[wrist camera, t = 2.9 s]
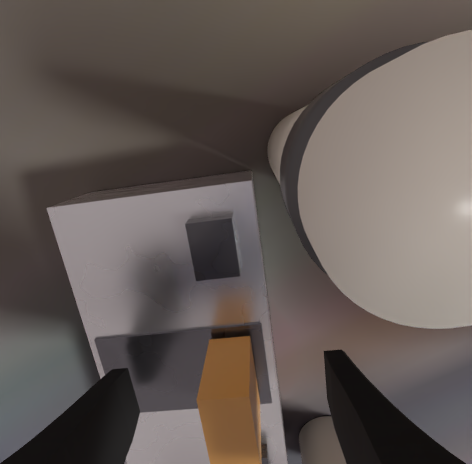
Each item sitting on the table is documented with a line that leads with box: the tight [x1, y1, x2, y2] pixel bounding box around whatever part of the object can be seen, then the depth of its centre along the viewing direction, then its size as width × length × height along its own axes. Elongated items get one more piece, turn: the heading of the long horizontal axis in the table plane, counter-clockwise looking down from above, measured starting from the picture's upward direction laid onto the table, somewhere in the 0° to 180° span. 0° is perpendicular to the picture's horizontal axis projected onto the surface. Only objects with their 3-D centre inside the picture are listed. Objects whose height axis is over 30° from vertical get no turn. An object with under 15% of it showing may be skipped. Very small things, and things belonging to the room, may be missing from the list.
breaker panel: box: [47, 170, 288, 464], centre depth 14 cm, size 7×14×4 cm, turn 8°
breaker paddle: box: [196, 336, 262, 464], centre depth 11 cm, size 2×3×3 cm, turn 8°
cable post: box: [267, 30, 472, 329], centre depth 8 cm, size 3×3×10 cm
